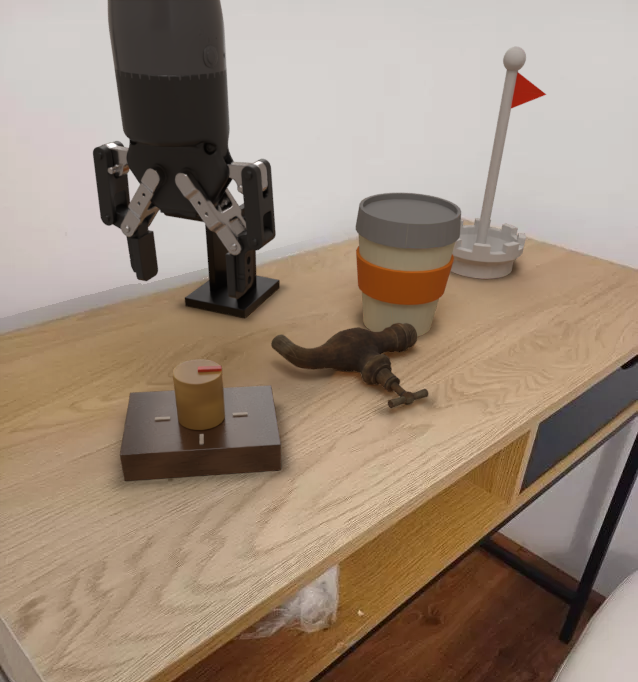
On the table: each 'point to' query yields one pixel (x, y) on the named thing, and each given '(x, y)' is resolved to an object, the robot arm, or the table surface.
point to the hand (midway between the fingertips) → (191, 286)
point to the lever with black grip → (188, 217)
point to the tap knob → (199, 394)
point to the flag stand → (480, 239)
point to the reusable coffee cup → (404, 257)
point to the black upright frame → (216, 289)
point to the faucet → (358, 356)
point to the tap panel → (200, 437)
